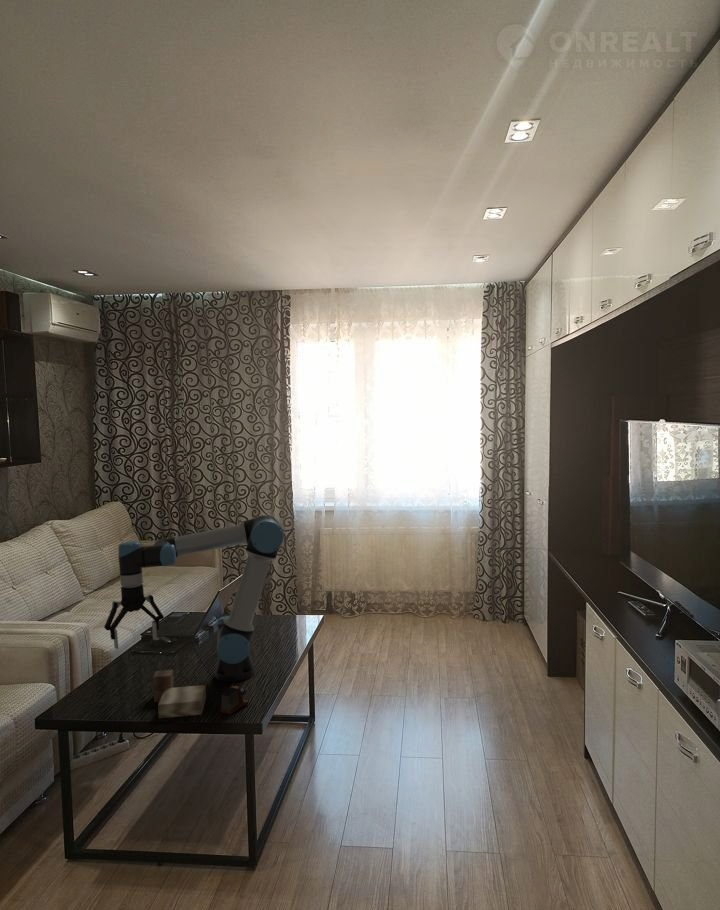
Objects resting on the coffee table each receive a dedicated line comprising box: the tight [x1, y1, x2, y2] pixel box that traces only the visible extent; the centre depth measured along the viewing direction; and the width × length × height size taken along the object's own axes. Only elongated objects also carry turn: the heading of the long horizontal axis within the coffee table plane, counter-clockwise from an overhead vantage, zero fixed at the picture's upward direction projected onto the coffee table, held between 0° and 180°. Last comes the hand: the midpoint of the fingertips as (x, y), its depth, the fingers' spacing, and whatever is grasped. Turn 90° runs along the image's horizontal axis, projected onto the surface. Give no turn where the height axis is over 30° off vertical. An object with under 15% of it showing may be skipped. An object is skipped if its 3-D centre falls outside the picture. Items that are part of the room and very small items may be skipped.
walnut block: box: [152, 669, 175, 703], centre depth 231 cm, size 6×6×9 cm
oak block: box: [157, 684, 207, 719], centre depth 222 cm, size 14×14×5 cm
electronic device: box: [220, 685, 250, 716], centre depth 220 cm, size 4×10×8 cm, turn 148°
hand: (136, 643), depth 231 cm, fingers open, 13 cm apart
